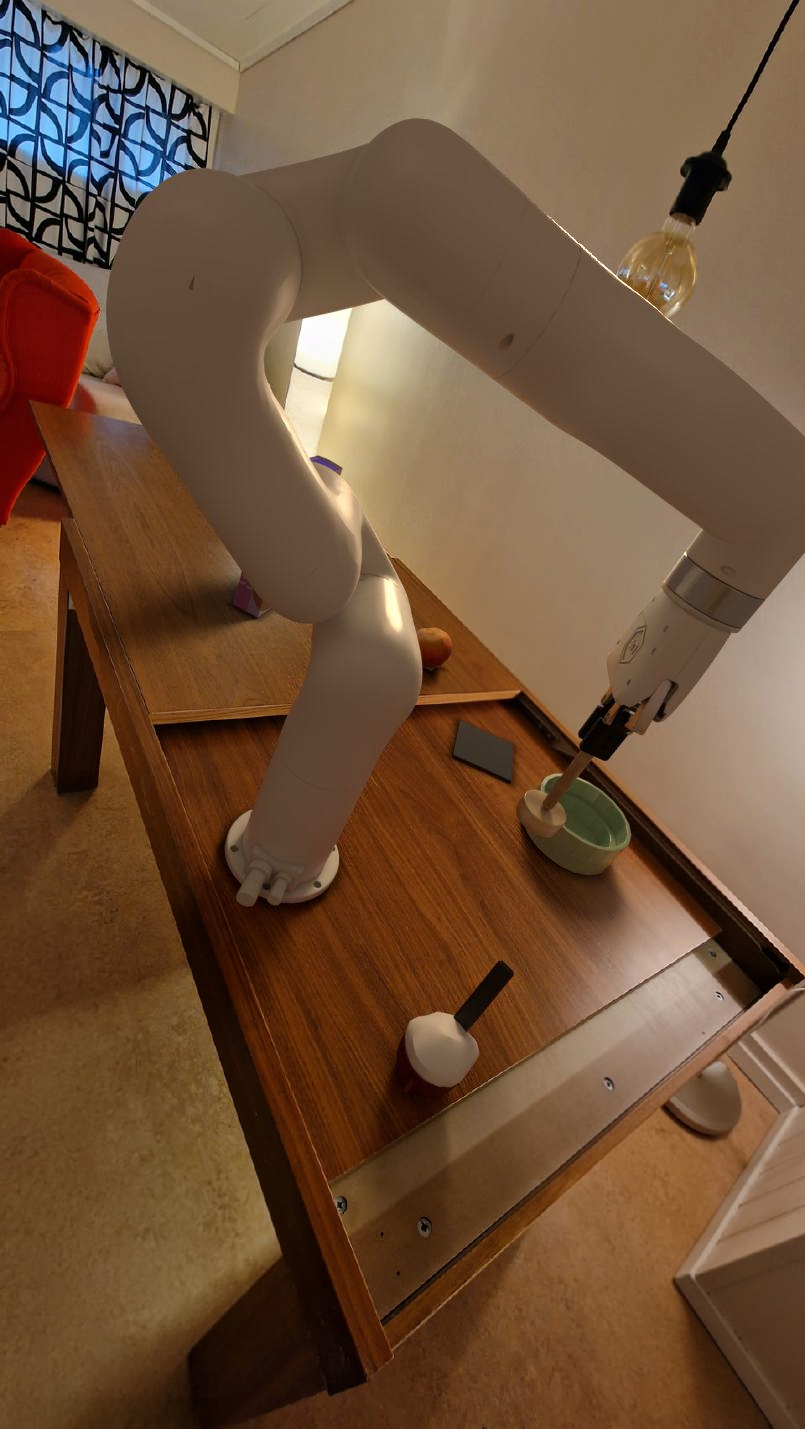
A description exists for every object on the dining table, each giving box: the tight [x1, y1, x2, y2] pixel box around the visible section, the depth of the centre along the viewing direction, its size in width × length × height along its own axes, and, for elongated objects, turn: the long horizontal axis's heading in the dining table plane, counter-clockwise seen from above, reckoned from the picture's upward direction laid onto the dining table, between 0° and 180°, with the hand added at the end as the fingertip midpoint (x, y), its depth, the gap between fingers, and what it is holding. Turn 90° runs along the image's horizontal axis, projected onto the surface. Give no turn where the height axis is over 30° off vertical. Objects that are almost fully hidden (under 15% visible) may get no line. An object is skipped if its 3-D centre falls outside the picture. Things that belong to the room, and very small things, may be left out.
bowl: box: [524, 773, 632, 876], centre depth 90 cm, size 14×14×6 cm
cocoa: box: [396, 960, 515, 1099], centre depth 54 cm, size 10×6×12 cm, turn 118°
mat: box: [452, 719, 514, 783], centre depth 100 cm, size 10×10×1 cm
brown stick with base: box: [515, 708, 627, 837], centre depth 65 cm, size 5×5×17 cm
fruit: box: [416, 627, 453, 673], centre depth 114 cm, size 8×8×8 cm
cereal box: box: [232, 454, 344, 619], centre depth 105 cm, size 17×5×24 cm, turn 161°
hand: (591, 747), depth 63 cm, fingers closed on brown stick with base, 1 cm apart
